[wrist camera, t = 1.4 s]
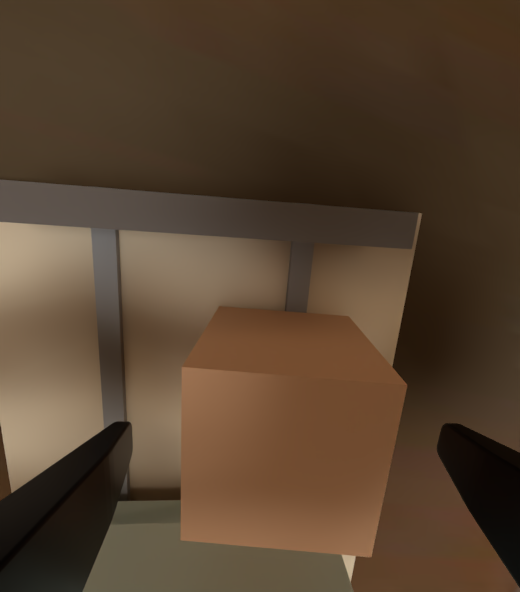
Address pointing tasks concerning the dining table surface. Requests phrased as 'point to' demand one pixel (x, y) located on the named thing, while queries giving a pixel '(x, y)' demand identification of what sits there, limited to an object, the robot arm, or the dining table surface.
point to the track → (163, 306)
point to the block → (286, 432)
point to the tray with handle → (200, 559)
